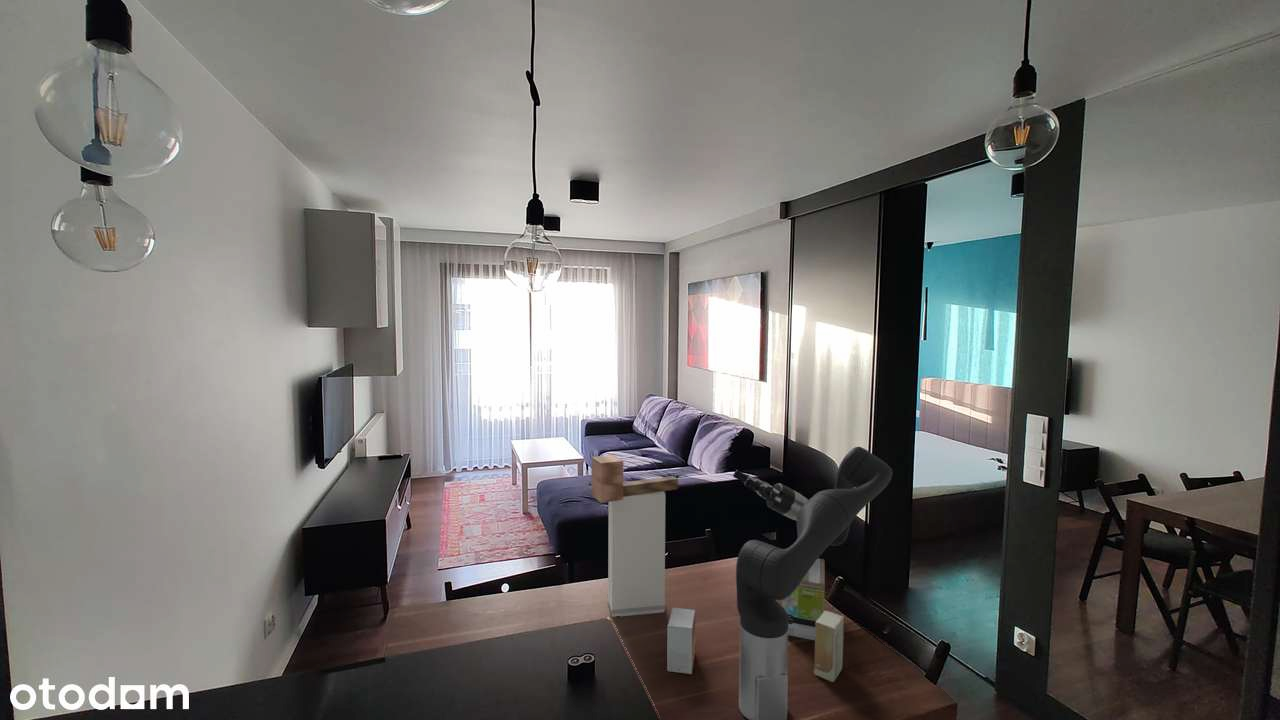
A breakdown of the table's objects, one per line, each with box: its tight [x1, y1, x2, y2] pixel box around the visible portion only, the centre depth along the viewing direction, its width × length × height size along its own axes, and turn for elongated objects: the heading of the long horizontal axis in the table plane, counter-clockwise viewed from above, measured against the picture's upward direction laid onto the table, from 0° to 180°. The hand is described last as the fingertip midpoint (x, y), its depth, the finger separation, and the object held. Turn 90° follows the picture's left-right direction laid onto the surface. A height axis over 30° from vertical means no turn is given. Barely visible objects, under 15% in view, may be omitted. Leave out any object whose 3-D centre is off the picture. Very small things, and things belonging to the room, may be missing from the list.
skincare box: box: [813, 609, 845, 683], centre depth 116 cm, size 6×4×12 cm
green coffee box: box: [781, 558, 826, 641], centre depth 135 cm, size 15×10×15 cm, turn 161°
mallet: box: [590, 454, 679, 504], centre depth 138 cm, size 23×7×10 cm, turn 115°
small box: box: [666, 607, 696, 675], centre depth 119 cm, size 8×6×10 cm
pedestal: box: [607, 491, 666, 618], centre depth 141 cm, size 14×8×32 cm, turn 101°
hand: (740, 477), depth 146 cm, fingers open, 8 cm apart
